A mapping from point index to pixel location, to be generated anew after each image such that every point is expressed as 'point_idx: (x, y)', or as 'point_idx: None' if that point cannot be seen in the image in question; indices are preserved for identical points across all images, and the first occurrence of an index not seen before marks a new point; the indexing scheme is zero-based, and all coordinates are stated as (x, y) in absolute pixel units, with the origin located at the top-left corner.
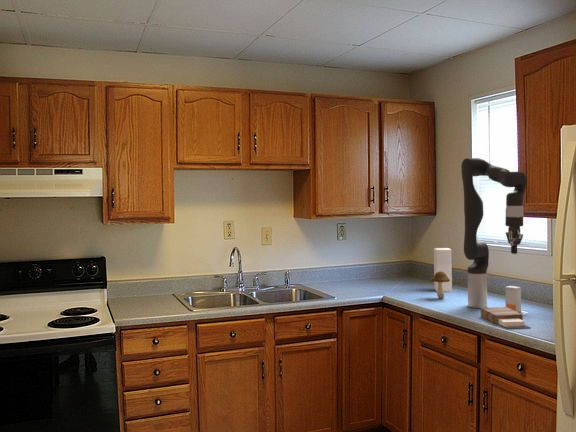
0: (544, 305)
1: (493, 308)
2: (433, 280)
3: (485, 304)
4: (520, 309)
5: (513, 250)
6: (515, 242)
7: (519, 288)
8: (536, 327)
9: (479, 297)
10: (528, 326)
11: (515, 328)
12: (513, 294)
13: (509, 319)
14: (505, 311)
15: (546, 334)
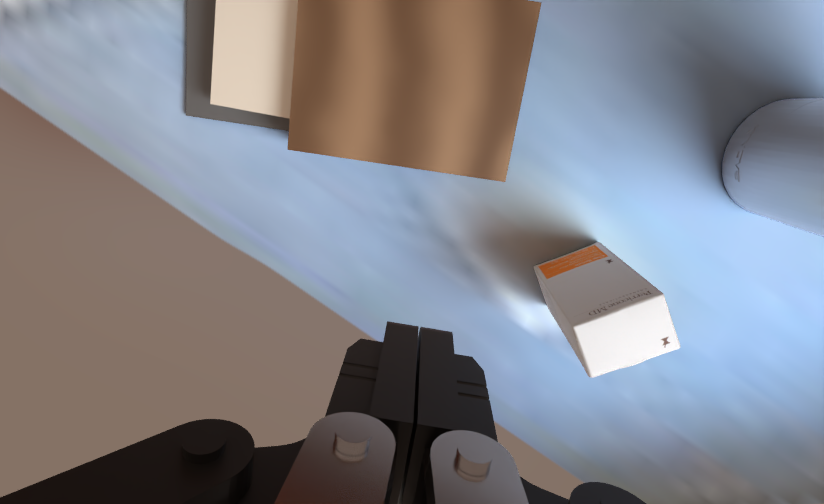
0: (623, 489)
1: (495, 78)
2: None
3: (735, 186)
4: (547, 305)
5: (370, 364)
6: (88, 469)
7: (581, 357)
8: (202, 156)
9: (775, 145)
10: (205, 116)
11: (187, 23)
12: (579, 298)
13: (273, 47)
14: (388, 98)
15: (55, 110)
